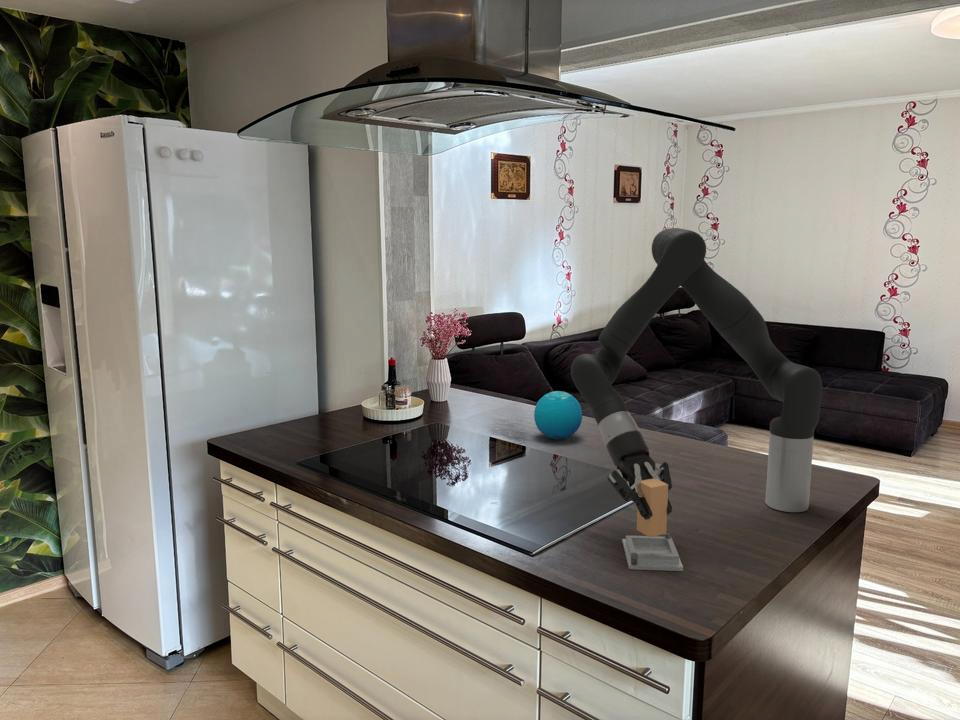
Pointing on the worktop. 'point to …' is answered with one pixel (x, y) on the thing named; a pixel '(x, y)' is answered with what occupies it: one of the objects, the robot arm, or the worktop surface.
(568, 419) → the decorative orb
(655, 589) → the worktop surface
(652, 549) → the plate
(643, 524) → the tan block
